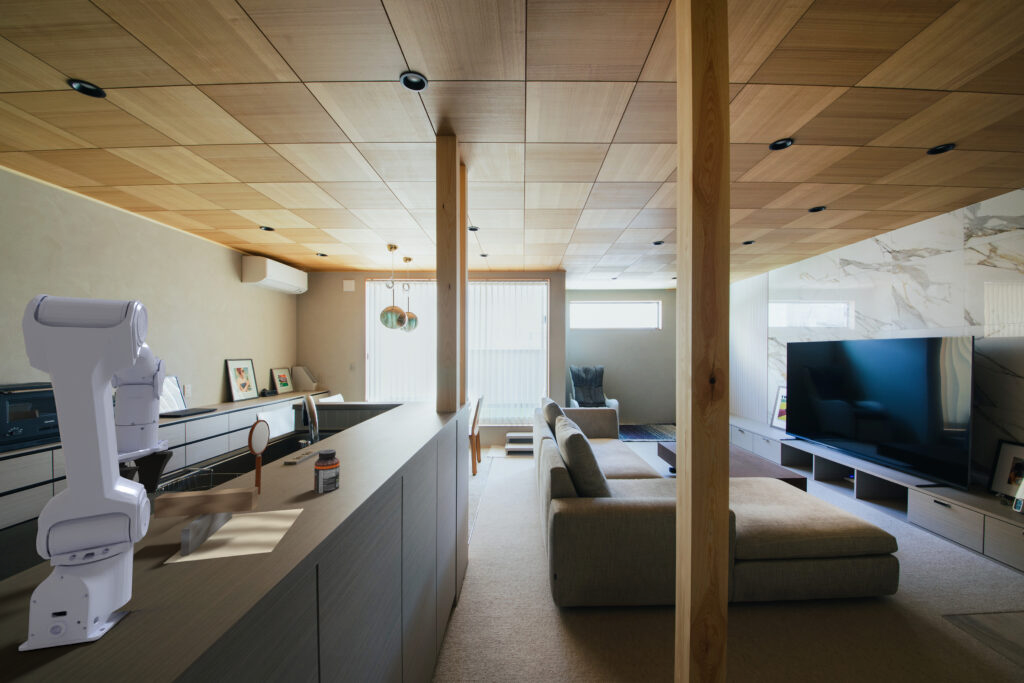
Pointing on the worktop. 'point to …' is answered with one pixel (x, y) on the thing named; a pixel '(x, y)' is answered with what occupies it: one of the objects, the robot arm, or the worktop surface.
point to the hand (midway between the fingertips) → (133, 500)
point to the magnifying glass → (258, 446)
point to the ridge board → (233, 534)
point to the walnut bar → (205, 502)
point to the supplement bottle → (326, 472)
